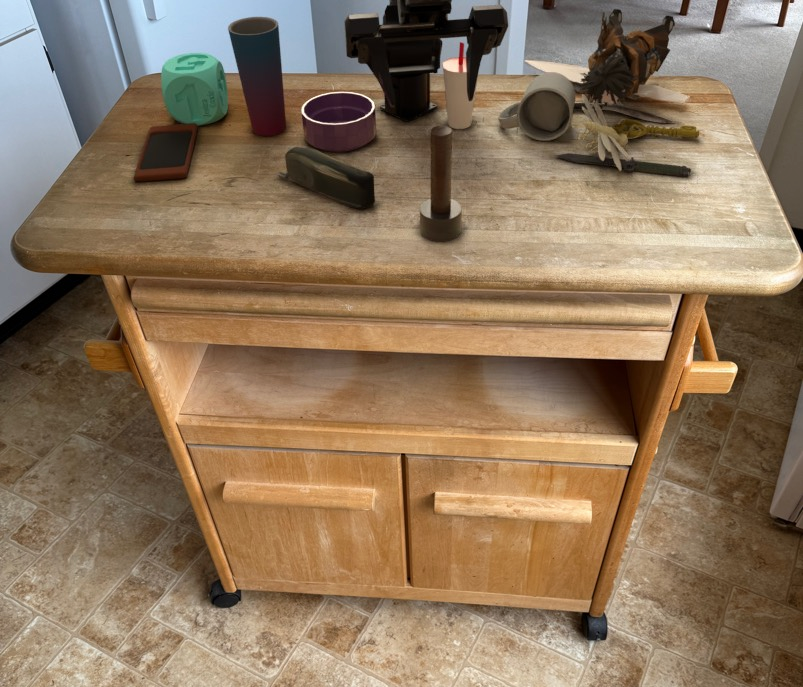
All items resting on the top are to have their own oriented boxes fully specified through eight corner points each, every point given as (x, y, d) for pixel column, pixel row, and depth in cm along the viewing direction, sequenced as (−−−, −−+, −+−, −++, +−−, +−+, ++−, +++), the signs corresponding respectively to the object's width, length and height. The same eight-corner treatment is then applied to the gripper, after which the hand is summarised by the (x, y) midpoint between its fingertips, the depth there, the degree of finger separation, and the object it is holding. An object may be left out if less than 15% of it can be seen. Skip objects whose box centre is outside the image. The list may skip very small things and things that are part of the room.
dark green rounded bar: (377, 169, 93) (285, 136, 100) (363, 180, 92) (269, 146, 98) (378, 204, 97) (289, 170, 103) (364, 215, 95) (274, 180, 101)
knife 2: (672, 136, 109) (676, 120, 112) (674, 127, 108) (678, 111, 111) (546, 113, 114) (553, 99, 117) (547, 105, 113) (555, 90, 116)
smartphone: (151, 131, 113) (134, 183, 102) (149, 125, 112) (132, 176, 101) (198, 128, 113) (187, 179, 102) (197, 122, 113) (185, 172, 102)
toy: (550, 115, 108) (566, 84, 104) (605, 126, 110) (621, 96, 107) (580, 178, 98) (599, 147, 95) (639, 189, 101) (658, 158, 98)
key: (700, 123, 107) (699, 139, 103) (698, 131, 108) (697, 148, 104) (614, 115, 110) (611, 131, 106) (613, 124, 110) (609, 139, 107)
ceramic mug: (573, 117, 112) (579, 66, 107) (569, 143, 106) (574, 91, 101) (502, 112, 115) (505, 62, 109) (494, 138, 109) (496, 86, 104)
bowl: (345, 114, 116) (343, 85, 112) (391, 136, 110) (389, 107, 107) (290, 137, 110) (286, 107, 107) (335, 162, 105) (332, 131, 102)
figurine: (683, 0, 116) (666, 51, 93) (662, 85, 124) (641, 152, 101) (610, -9, 119) (576, 38, 96) (594, 75, 127) (559, 137, 104)
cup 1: (284, 140, 110) (268, 35, 100) (239, 137, 111) (220, 33, 101) (298, 119, 115) (284, 17, 104) (255, 116, 116) (238, 15, 106)
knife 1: (678, 110, 111) (679, 105, 110) (514, 68, 124) (514, 64, 124) (694, 95, 114) (695, 90, 114) (533, 56, 128) (533, 52, 127)
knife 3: (692, 162, 100) (691, 175, 98) (690, 167, 100) (689, 181, 99) (555, 147, 104) (552, 160, 102) (555, 152, 105) (551, 165, 103)
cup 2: (463, 112, 115) (465, 32, 107) (485, 125, 111) (489, 43, 103) (434, 122, 113) (434, 41, 105) (455, 135, 109) (457, 53, 101)
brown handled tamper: (440, 213, 94) (441, 115, 86) (469, 229, 92) (473, 130, 83) (411, 229, 92) (409, 130, 83) (440, 246, 89) (441, 146, 80)
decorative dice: (170, 127, 113) (157, 75, 108) (179, 103, 119) (167, 53, 114) (223, 125, 114) (213, 72, 108) (230, 101, 119) (221, 51, 114)
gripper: (337, -63, 80) (351, 81, 80) (510, -73, 82) (525, 68, 81) (340, -9, 91) (352, 118, 91) (492, -19, 93) (505, 106, 92)
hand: (432, 103), depth 88 cm, fingers open, 9 cm apart
